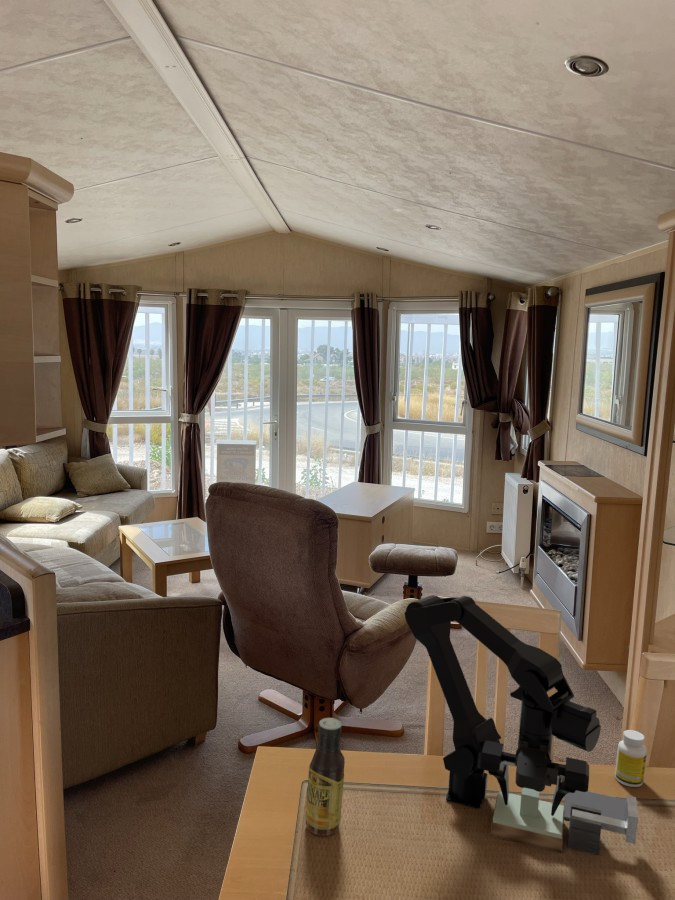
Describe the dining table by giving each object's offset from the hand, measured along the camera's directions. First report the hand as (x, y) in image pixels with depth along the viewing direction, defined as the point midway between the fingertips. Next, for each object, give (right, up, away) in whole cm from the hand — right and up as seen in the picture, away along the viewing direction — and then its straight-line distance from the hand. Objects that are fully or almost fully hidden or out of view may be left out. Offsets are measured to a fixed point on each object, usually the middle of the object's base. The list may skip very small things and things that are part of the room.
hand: (529, 809), depth 131 cm
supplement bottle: (+24, -3, +17) cm, 30 cm away
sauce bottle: (-37, -3, -1) cm, 37 cm away
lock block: (+9, -5, -2) cm, 10 cm away
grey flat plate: (+15, -4, +7) cm, 16 cm away
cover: (0, -1, 0) cm, 1 cm away
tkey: (+12, -1, -4) cm, 12 cm away
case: (0, -4, +1) cm, 4 cm away
